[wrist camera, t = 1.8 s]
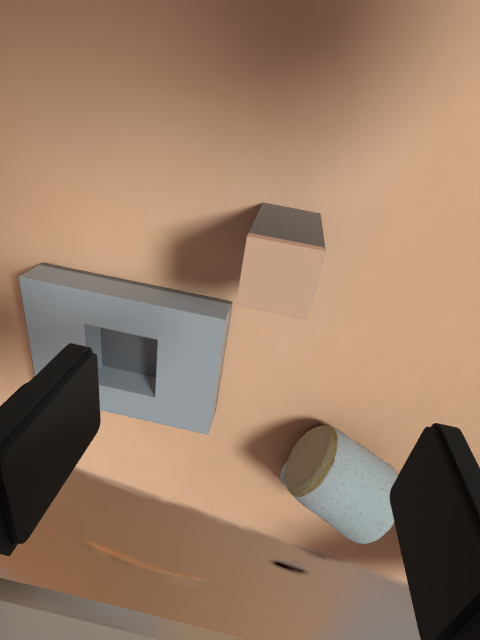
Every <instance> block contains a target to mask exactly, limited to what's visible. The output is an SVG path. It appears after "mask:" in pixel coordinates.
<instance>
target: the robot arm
mask: <svg viewBox="0 0 480 640" xmlns="http://www.w3.org/2000/svg"><path fill="white" fill-rule="evenodd" d="M99 426H100V400H99V378H98V358H97V354H95V353H93V352H92V349H91V348H90V347H87V346H82V345H78V344H73V343H69V344H68V345H66V346H65V347H64V348H63V349H62V350H61V351H60V352H59V353H58V354H57V355H56V356H55V357H54V358H53V359H52V360H51V361H50V362H49V363H48V364H47V365H46V366H45V367H44V368H43V369H42V370H41V371H40V372H39V373H38V374H37V375H36V376H35V377H34V378H32V379H31V380H30V381H29V382H28V383H25V384H24V385H23V386H21V387H20V388H19V389H18V390H17V391H16V392H15V393H14V394H13V395H12V396H11V397H10V398H9V399H8V400H7V401H6V402H4V403H3V404H2V405H1V406H0V554H2V555H7V556H10V555H11V553H12V552H13V550H14V549H15V547H16V546H17V544H18V543H19V544H23V543H24V542H26V540H27V539H28V538H29V537H30V535H31V534H32V532H33V530H34V529H35V527H36V526H37V524H38V523H39V521H40V520H41V518H42V517H43V515H44V514H45V512H46V510H47V509H48V507H49V506H50V504H51V503H52V501H53V500H54V498H55V497H56V495H57V494H58V492H59V490H60V489H61V487H62V486H63V484H64V483H65V481H66V480H67V478H68V477H69V475H70V474H71V472H72V471H73V469H74V467H75V466H76V464H77V463H78V461H79V460H80V458H81V457H82V455H83V454H84V452H85V451H86V449H87V447H88V446H89V444H90V443H91V441H92V440H93V438H94V437H95V435H96V434H97V432H98V429H99ZM390 504H391V509H392V513H393V518H394V522H395V527H396V531H397V536H398V540H399V545H400V549H401V554H402V558H403V563H404V567H405V572H406V576H407V581H408V585H409V590H410V594H411V598H412V603H413V608H414V612H415V617H416V621H417V626H418V630H419V634H420V638H421V640H480V468H479V466H478V464H477V462H476V460H475V458H474V456H473V454H472V452H471V450H470V448H469V446H468V444H467V442H466V440H465V438H464V436H463V434H462V432H461V430H460V429H458V428H456V427H452V426H447V425H443V424H438V423H435V424H433V425H432V426H431V427H426V428H425V429H424V430H423V432H422V434H421V436H420V437H419V439H418V441H417V443H416V445H415V446H414V448H413V450H412V452H411V453H410V455H409V457H408V459H407V461H406V462H405V464H404V466H403V468H402V470H401V471H400V473H399V475H398V477H397V478H396V480H395V482H394V484H393V486H392V487H391V490H390ZM0 640H246V639H242V638H238V637H234V636H230V635H227V634H223V633H219V632H215V631H211V630H207V629H203V628H199V627H196V626H192V625H188V624H184V623H180V622H176V621H172V620H168V619H164V618H160V617H156V616H153V615H148V614H145V613H141V612H136V611H133V610H129V609H125V608H121V607H116V606H113V605H109V604H104V603H101V602H97V601H93V600H89V599H85V598H81V597H77V596H73V595H69V594H65V593H61V592H57V591H53V590H49V589H45V588H40V587H36V586H31V585H28V584H23V583H19V582H14V581H10V580H6V579H2V578H0Z"/></svg>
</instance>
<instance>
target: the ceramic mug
mask: <svg viewBox="0 0 480 640" xmlns="http://www.w3.org/2000/svg"><path fill="white" fill-rule="evenodd" d="M397 477H398V473H397V472H396V470H395V469H394V468H393V467H392V466H391V465H390V464H388V463H387V462H385V461H384V460H382V459H381V458H379V457H378V456H376V455H375V454H374V453H372V452H371V451H369V450H368V449H366V448H365V447H363V446H362V445H360V444H359V443H357V442H356V441H354V440H353V439H352V438H350V437H349V436H348V435H346V434H345V433H343V432H341V431H339V430H337V429H335V428H333V427H330V426H326V425H323V426H317V427H315V428H313V429H311V430H309V431H308V432H306V433H305V434H304V435H303V436H302V437H301V438H300V439H299V440H298V442H297V443H296V445H295V446H294V448H293V450H292V451H291V453H290V455H289V458H288V461H287V462H286V463H285V464H284V466H283V468H282V471H281V474H280V479H281V481H282V482H283V484H284V485H285V486H286V487H287V488H288V490H289V491H290V493H291V494H292V495H293V496H294V497H295V498H296V499H297V500H298V501H299V502H300V503H301V504H302V505H304V506H305V507H306V508H308V509H309V510H311V511H312V512H313V513H315V514H316V515H318V516H319V517H320V518H322V519H323V520H324V521H326V522H327V523H328V524H330V525H331V526H332V527H333V528H335V529H336V530H337V531H339V532H340V533H341V534H342V535H344V536H345V537H346V538H348V539H350V540H351V541H353V542H356V543H360V544H368V543H371V542H374V541H376V540H378V539H379V538H381V537H382V536H383V535H384V534H385V533H386V532H387V531H388V530H389V529H390V528H391V527H392V525H393V524H394V518H393V513H392V509H391V504H390V490H391V487H392V486H393V484H394V482H395V480H396V478H397Z"/></svg>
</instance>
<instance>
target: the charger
mask: <svg viewBox="0 0 480 640" xmlns="http://www.w3.org/2000/svg"><path fill="white" fill-rule="evenodd" d="M325 252H326V251H325V243H324V236H323V229H322V222H321V215H320V213H315V212H310V211H304V210H299V209H294V208H289V207H283V206H278V205H273V204H267V203H262V205H261V208H260V210H259V212H258V214H257V216H256V218H255V220H254V222H253V224H252V227H251V229H250V231H249V233H248V235H247V239H246V245H245V251H244V258H243V264H242V270H241V276H240V282H239V288H238V294H237V301H236V305H237V306H242V307H247V308H251V309H256V310H261V311H266V312H271V313H276V314H280V315H285V316H290V317H295V318H300V319H305V320H307V316H308V313H309V309H310V306H311V302H312V299H313V295H314V291H315V288H316V284H317V281H318V277H319V273H320V270H321V266H322V263H323V259H324V255H325Z"/></svg>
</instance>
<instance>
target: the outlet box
mask: <svg viewBox="0 0 480 640" xmlns="http://www.w3.org/2000/svg"><path fill="white" fill-rule="evenodd" d="M19 283H20V289H21V295H22V301H23V307H24V313H25V319H26V325H27V331H28V337H29V343H30V349H31V355H32V361H33V367H34V373H35V376H36V375H37V374H38V373H39V372H40V371H41V370H42V369H43V368H44V367H45V366H46V365H47V364H48V363H49V362H50V361H51V360H52V359H53V358H54V357H55V356H56V355H57V354H58V353H59V352H60V351H61V350H62V349H63V348H64V347H65V346H66V345H68V344H69V343H73V344H78V345H82V346H87V347H90V348H91V349H92V352H93V353H95V354H97V358H98V378H99V400H100V410H102V411H106V412H110V413H115V414H119V415H124V416H128V417H132V418H137V419H141V420H145V421H150V422H154V423H159V424H163V425H167V426H172V427H176V428H180V429H185V430H189V431H194V432H198V433H202V434H207V435H208V434H209V431H210V427H211V424H212V421H213V418H214V414H215V410H216V404H217V398H218V391H219V385H220V379H221V372H222V366H223V360H224V353H225V347H226V340H227V334H228V328H229V321H230V315H231V309H232V302H231V301H226V300H222V299H217V298H212V297H207V296H202V295H197V294H193V293H188V292H183V291H178V290H173V289H168V288H163V287H159V286H154V285H149V284H144V283H139V282H134V281H129V280H125V279H120V278H115V277H110V276H105V275H100V274H95V273H91V272H86V271H81V270H76V269H71V268H66V267H62V266H57V265H52V264H47V263H41V264H39V265H38V266H36V267H34V268H32V269H31V270H29V271H27V272H26V273H24V274H22V275H20V276H19Z"/></svg>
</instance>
